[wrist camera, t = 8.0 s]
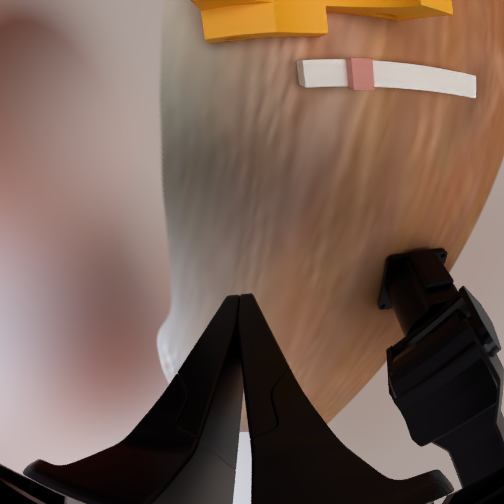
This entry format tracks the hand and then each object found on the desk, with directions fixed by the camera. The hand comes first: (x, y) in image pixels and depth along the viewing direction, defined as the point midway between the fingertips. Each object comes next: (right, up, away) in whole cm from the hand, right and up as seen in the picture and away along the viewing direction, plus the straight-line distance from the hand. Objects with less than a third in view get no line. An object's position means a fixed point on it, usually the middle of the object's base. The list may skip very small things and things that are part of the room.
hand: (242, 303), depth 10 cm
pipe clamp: (+4, +17, +3) cm, 17 cm away
